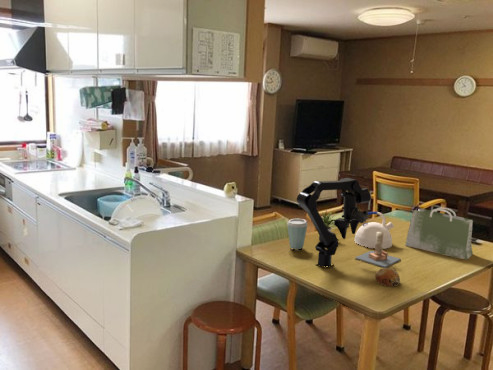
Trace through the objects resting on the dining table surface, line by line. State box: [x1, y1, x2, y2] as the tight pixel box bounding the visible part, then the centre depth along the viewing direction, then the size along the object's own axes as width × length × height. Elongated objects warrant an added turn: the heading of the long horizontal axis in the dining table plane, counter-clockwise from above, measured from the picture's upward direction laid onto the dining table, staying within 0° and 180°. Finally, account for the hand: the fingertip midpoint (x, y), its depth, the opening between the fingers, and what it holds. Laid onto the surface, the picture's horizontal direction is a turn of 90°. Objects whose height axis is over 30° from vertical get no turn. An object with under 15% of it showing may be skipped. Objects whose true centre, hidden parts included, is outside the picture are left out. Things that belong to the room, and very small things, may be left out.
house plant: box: [319, 209, 336, 232], centre depth 248 cm, size 14×14×16 cm
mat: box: [354, 250, 401, 269], centre depth 218 cm, size 16×16×1 cm
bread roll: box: [374, 267, 401, 287], centre depth 190 cm, size 10×10×8 cm
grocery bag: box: [404, 206, 474, 260], centre depth 236 cm, size 32×14×23 cm, turn 52°
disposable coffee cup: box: [286, 217, 309, 250], centre depth 229 cm, size 11×11×15 cm
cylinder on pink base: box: [369, 232, 388, 260], centre depth 217 cm, size 7×5×13 cm
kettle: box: [353, 211, 395, 250], centre depth 243 cm, size 20×21×18 cm
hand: (348, 236), depth 212 cm, fingers open, 9 cm apart
